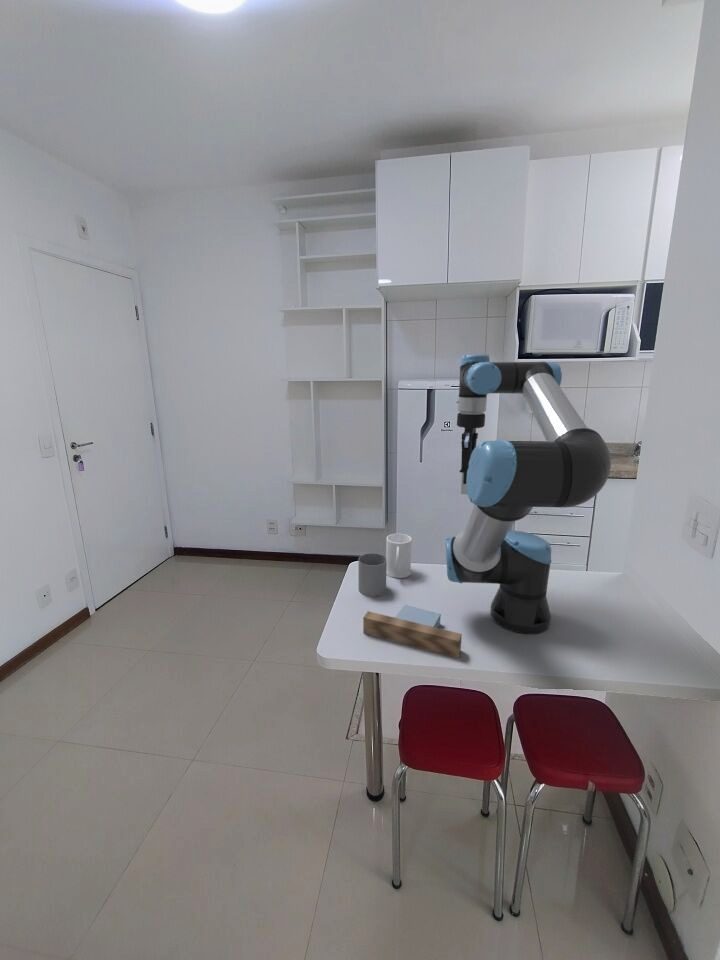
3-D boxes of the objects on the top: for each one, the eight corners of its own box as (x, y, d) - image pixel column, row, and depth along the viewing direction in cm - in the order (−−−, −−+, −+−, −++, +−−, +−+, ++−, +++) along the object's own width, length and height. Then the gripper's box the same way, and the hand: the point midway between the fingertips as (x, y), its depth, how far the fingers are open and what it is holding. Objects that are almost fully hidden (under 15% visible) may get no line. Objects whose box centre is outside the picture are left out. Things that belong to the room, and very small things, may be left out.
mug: (408, 584, 131) (409, 549, 128) (381, 581, 133) (381, 546, 130) (412, 567, 142) (413, 534, 139) (387, 564, 144) (388, 532, 141)
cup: (356, 595, 126) (356, 564, 123) (360, 581, 133) (360, 552, 131) (384, 597, 124) (385, 566, 122) (387, 583, 132) (388, 554, 129)
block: (440, 625, 112) (440, 613, 111) (430, 642, 105) (431, 630, 104) (404, 615, 116) (404, 604, 115) (393, 631, 109) (393, 619, 108)
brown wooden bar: (460, 650, 101) (461, 633, 100) (458, 657, 99) (459, 641, 98) (367, 626, 111) (367, 611, 109) (363, 632, 108) (363, 617, 107)
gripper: (461, 409, 125) (457, 486, 131) (453, 414, 113) (448, 498, 120) (488, 410, 122) (482, 489, 128) (482, 415, 111) (475, 501, 117)
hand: (465, 493), depth 124 cm, fingers closed
